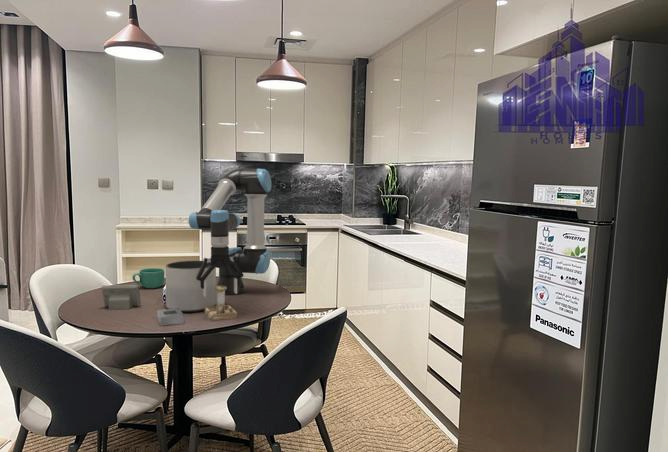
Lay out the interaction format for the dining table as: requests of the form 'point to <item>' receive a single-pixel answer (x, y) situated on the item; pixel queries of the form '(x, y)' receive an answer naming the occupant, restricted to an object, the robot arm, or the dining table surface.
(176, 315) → the block
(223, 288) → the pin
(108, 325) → the dining table surface
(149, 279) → the mug
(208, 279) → the planter
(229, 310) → the tray
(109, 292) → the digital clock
